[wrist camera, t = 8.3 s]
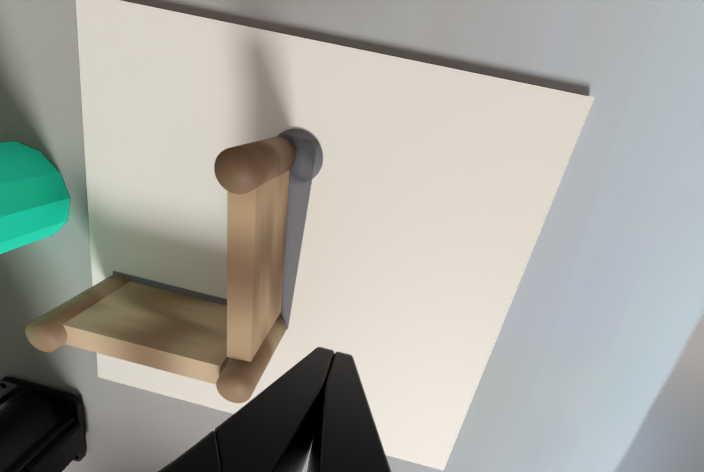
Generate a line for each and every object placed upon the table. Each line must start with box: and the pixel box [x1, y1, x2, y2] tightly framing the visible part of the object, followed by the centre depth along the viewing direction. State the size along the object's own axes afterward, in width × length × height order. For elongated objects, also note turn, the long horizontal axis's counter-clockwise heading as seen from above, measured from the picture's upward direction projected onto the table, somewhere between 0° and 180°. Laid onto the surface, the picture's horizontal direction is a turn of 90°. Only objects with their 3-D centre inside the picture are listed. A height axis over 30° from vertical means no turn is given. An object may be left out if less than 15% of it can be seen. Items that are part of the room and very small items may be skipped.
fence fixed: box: [25, 274, 286, 403], centre depth 21 cm, size 12×2×6 cm, turn 79°
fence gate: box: [214, 137, 296, 362], centre depth 18 cm, size 10×2×5 cm, turn 173°
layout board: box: [76, 0, 594, 470], centre depth 22 cm, size 25×24×1 cm
